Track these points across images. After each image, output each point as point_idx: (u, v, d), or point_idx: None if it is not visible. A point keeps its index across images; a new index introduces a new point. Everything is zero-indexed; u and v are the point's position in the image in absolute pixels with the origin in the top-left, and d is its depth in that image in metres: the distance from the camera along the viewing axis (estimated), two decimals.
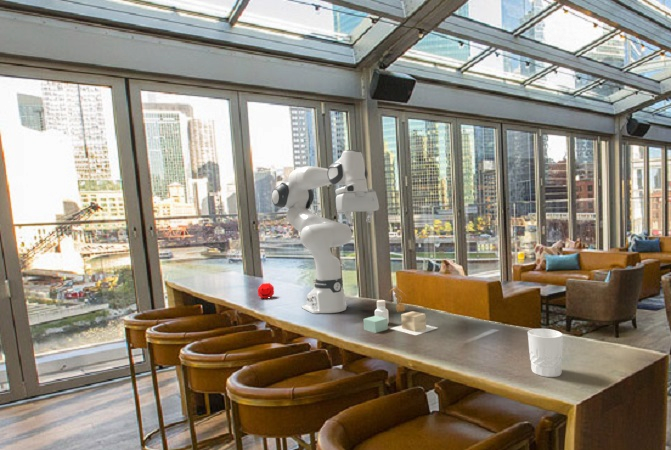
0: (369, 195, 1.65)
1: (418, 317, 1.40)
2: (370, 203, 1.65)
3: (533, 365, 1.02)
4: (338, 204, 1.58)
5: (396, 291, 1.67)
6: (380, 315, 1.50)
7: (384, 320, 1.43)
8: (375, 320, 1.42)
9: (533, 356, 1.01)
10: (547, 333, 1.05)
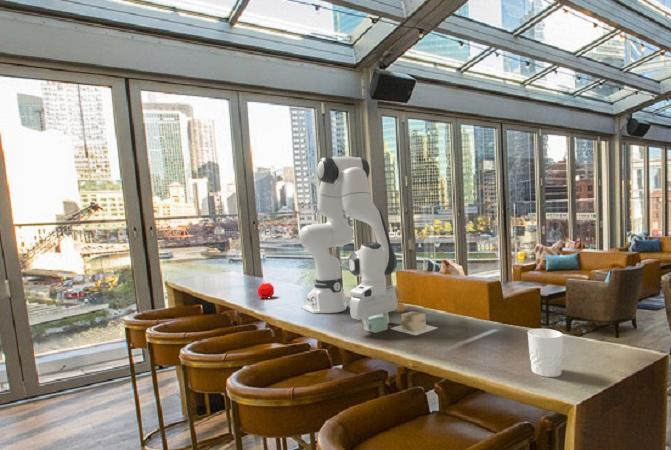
0: (387, 295, 1.46)
1: (418, 317, 1.40)
2: (388, 304, 1.46)
3: (533, 365, 1.02)
4: (352, 310, 1.38)
5: (396, 291, 1.67)
6: (380, 315, 1.50)
7: (384, 320, 1.43)
8: (374, 319, 1.42)
9: (533, 356, 1.01)
10: (547, 333, 1.05)
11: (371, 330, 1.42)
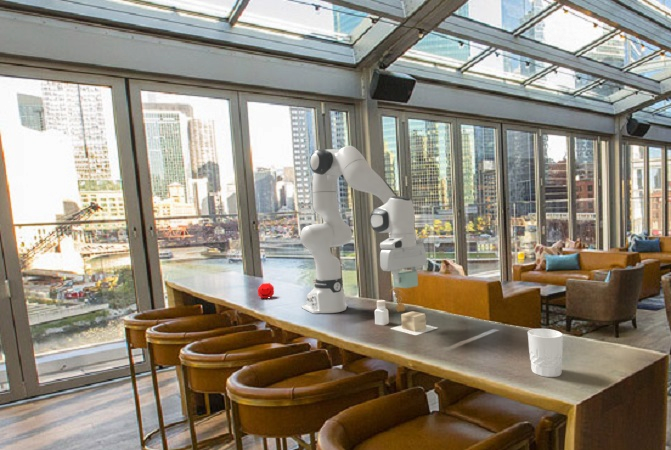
0: (417, 249, 1.44)
1: (418, 317, 1.40)
2: (417, 258, 1.44)
3: (533, 365, 1.02)
4: (382, 261, 1.37)
5: (396, 291, 1.67)
6: (380, 315, 1.50)
7: (414, 273, 1.41)
8: (405, 272, 1.40)
9: (533, 356, 1.01)
10: (547, 333, 1.05)
11: (401, 283, 1.40)
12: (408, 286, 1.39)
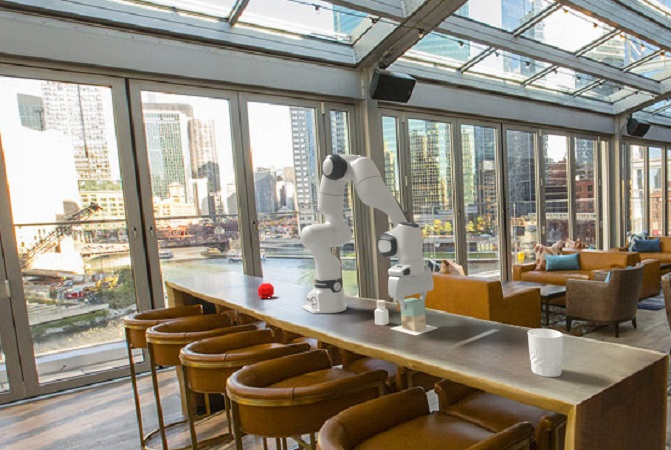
0: (424, 275, 1.45)
1: (418, 317, 1.40)
2: (424, 284, 1.45)
3: (533, 365, 1.02)
4: (391, 288, 1.37)
5: None
6: (380, 315, 1.50)
7: (422, 301, 1.42)
8: (412, 301, 1.41)
9: (533, 356, 1.01)
10: (547, 333, 1.05)
11: (409, 312, 1.41)
12: (416, 315, 1.40)
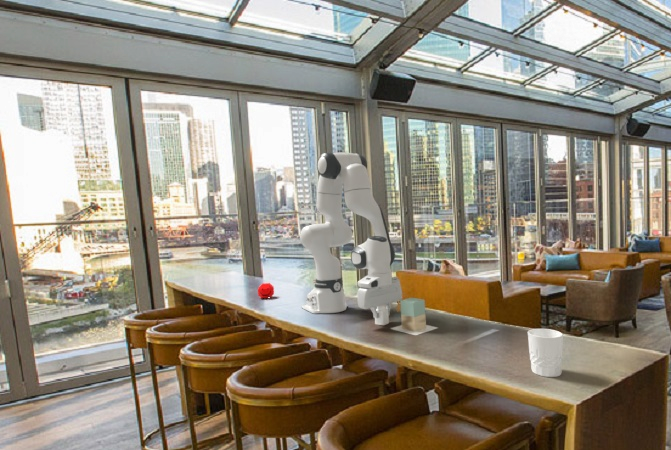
0: (392, 286, 1.53)
1: (418, 317, 1.40)
2: (393, 295, 1.53)
3: (533, 365, 1.02)
4: (359, 299, 1.46)
5: None
6: (380, 315, 1.50)
7: (422, 301, 1.42)
8: (412, 301, 1.41)
9: (533, 356, 1.01)
10: (547, 333, 1.05)
11: (409, 312, 1.41)
12: (416, 315, 1.40)
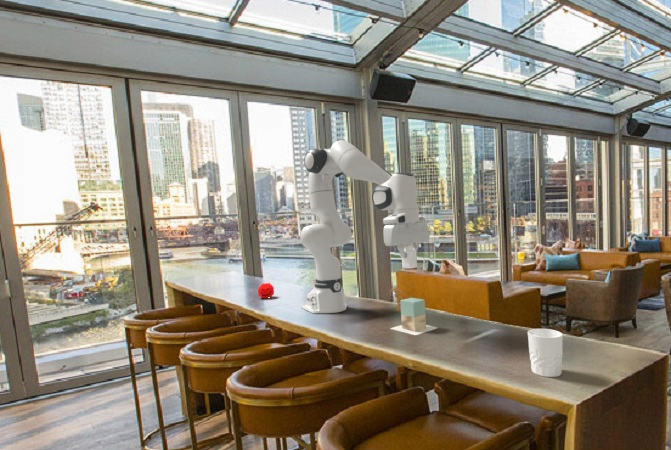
0: (419, 225, 1.45)
1: (418, 317, 1.40)
2: (420, 234, 1.45)
3: (533, 365, 1.02)
4: (386, 236, 1.37)
5: (396, 291, 1.67)
6: (407, 255, 1.41)
7: (422, 301, 1.42)
8: (412, 301, 1.41)
9: (533, 356, 1.01)
10: (547, 333, 1.05)
11: (409, 312, 1.41)
12: (416, 315, 1.40)
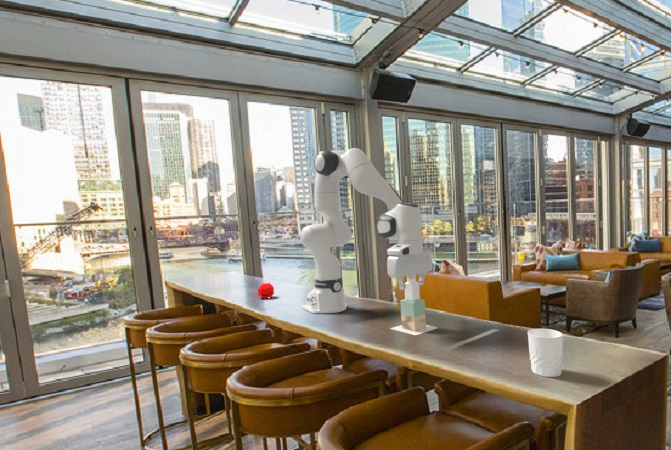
0: (423, 256, 1.44)
1: (418, 317, 1.40)
2: (424, 264, 1.44)
3: (533, 365, 1.02)
4: (390, 268, 1.37)
5: (396, 291, 1.67)
6: (410, 288, 1.41)
7: (422, 301, 1.42)
8: (412, 301, 1.41)
9: (533, 356, 1.01)
10: (547, 333, 1.05)
11: (409, 312, 1.41)
12: (416, 315, 1.40)
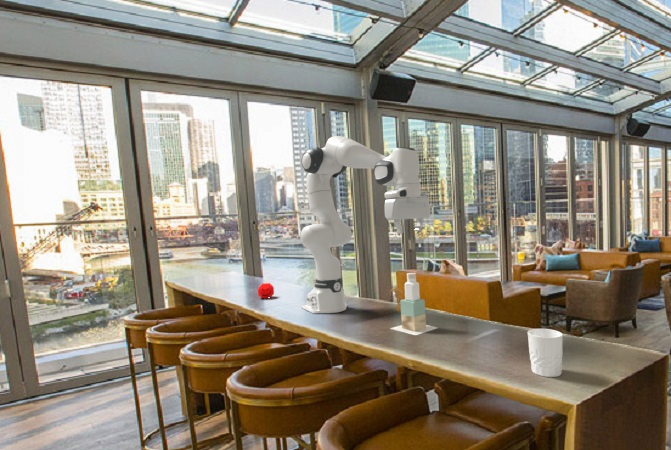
0: (421, 201, 1.44)
1: (418, 317, 1.40)
2: (421, 210, 1.44)
3: (533, 365, 1.02)
4: (387, 210, 1.37)
5: (396, 291, 1.67)
6: (410, 288, 1.41)
7: (422, 301, 1.42)
8: (412, 301, 1.41)
9: (533, 356, 1.01)
10: (547, 333, 1.05)
11: (409, 312, 1.41)
12: (416, 315, 1.40)
